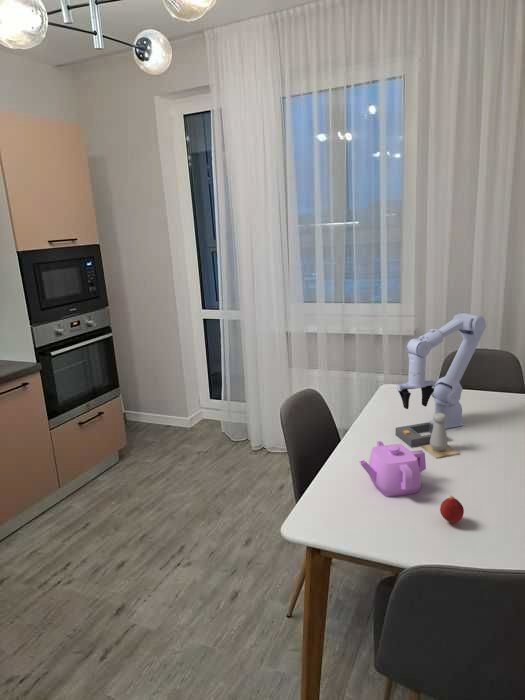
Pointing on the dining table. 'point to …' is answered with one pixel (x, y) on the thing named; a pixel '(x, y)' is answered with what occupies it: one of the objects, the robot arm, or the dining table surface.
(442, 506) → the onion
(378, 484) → the teakettle
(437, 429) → the salt shaker
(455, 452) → the oak pad
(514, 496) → the dining table surface
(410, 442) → the grey flat block
